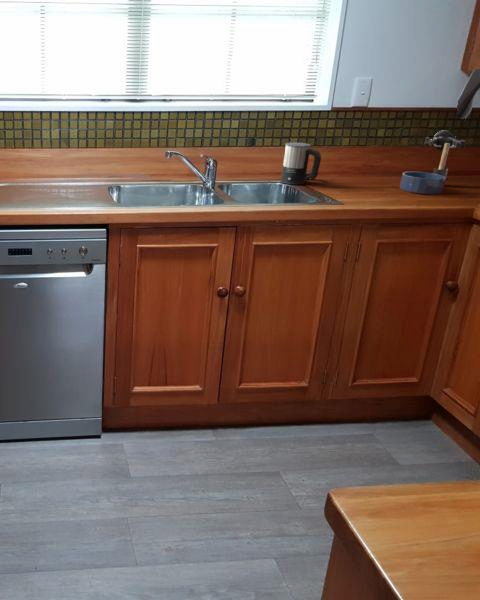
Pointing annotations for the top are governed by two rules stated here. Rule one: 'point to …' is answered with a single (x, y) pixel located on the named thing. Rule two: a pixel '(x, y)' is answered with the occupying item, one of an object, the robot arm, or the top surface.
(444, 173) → the holder
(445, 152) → the stick
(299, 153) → the milk frother
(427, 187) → the bowl
